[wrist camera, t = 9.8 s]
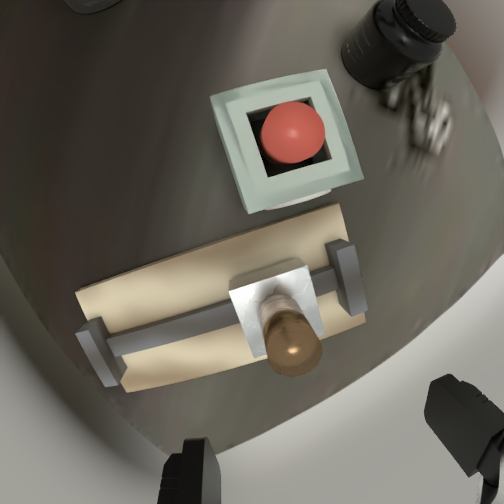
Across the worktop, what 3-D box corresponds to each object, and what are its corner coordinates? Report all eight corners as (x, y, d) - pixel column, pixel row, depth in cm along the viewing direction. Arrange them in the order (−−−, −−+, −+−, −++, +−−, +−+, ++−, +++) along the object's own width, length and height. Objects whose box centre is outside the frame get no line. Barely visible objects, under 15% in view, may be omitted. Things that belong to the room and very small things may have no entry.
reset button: (251, 124, 20) (255, 109, 16) (299, 112, 20) (313, 96, 16) (267, 172, 21) (275, 167, 17) (314, 158, 21) (332, 151, 17)
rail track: (81, 288, 27) (59, 303, 22) (333, 202, 27) (352, 205, 22) (130, 384, 29) (118, 410, 25) (360, 316, 29) (379, 336, 25)
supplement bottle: (395, 43, 24) (457, -4, 12) (400, 96, 25) (475, 62, 13) (337, 28, 23) (385, -36, 12) (340, 83, 25) (401, 30, 13)
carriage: (228, 277, 25) (228, 326, 16) (296, 254, 26) (333, 291, 16) (250, 337, 27) (260, 405, 17) (313, 316, 27) (351, 374, 17)
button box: (215, 123, 25) (209, 96, 17) (300, 100, 25) (326, 68, 17) (245, 213, 27) (251, 222, 19) (329, 187, 27) (366, 187, 19)
